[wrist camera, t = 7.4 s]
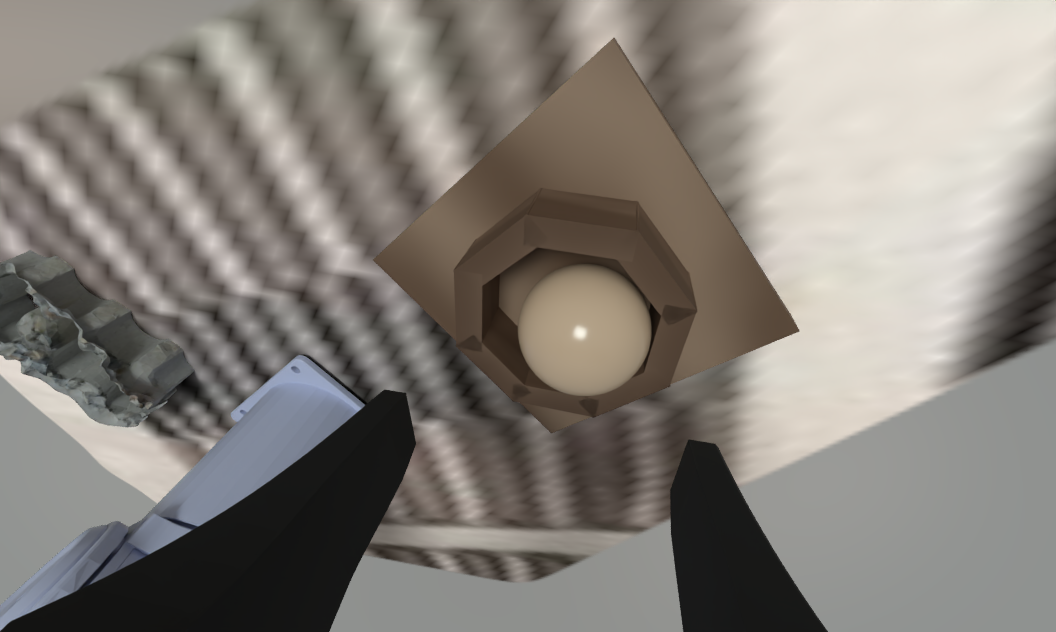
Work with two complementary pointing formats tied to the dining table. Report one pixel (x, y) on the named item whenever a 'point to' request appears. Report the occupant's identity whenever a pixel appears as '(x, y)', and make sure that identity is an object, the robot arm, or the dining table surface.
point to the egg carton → (84, 343)
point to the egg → (584, 329)
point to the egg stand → (588, 242)
